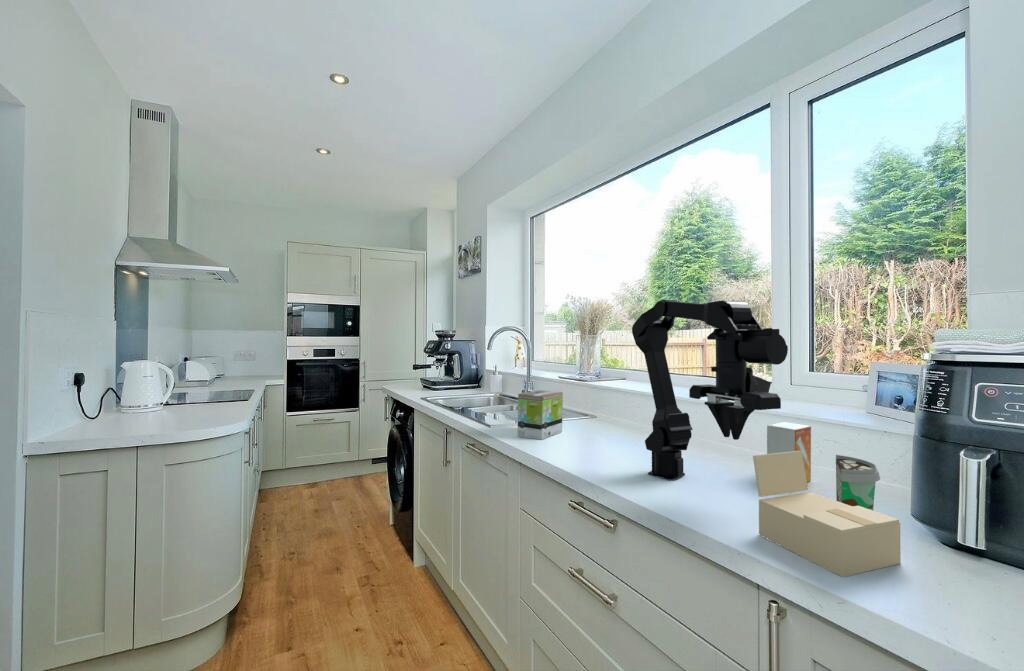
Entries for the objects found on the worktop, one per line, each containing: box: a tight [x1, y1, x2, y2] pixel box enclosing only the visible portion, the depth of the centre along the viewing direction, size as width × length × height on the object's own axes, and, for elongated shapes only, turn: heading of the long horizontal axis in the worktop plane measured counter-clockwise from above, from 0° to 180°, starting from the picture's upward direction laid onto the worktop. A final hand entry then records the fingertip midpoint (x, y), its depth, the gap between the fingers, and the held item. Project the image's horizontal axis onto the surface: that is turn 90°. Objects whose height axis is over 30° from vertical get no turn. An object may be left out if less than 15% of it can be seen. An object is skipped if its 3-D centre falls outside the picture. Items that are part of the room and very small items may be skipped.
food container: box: [835, 454, 881, 511], centre depth 83 cm, size 12×6×10 cm, turn 148°
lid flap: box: [752, 451, 809, 498], centre depth 79 cm, size 7×11×1 cm
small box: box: [766, 421, 812, 483], centre depth 104 cm, size 8×6×13 cm
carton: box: [758, 491, 902, 578], centre depth 71 cm, size 14×12×7 cm
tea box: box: [517, 389, 564, 441], centre depth 155 cm, size 15×10×15 cm, turn 147°
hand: (731, 438), depth 91 cm, fingers open, 2 cm apart
